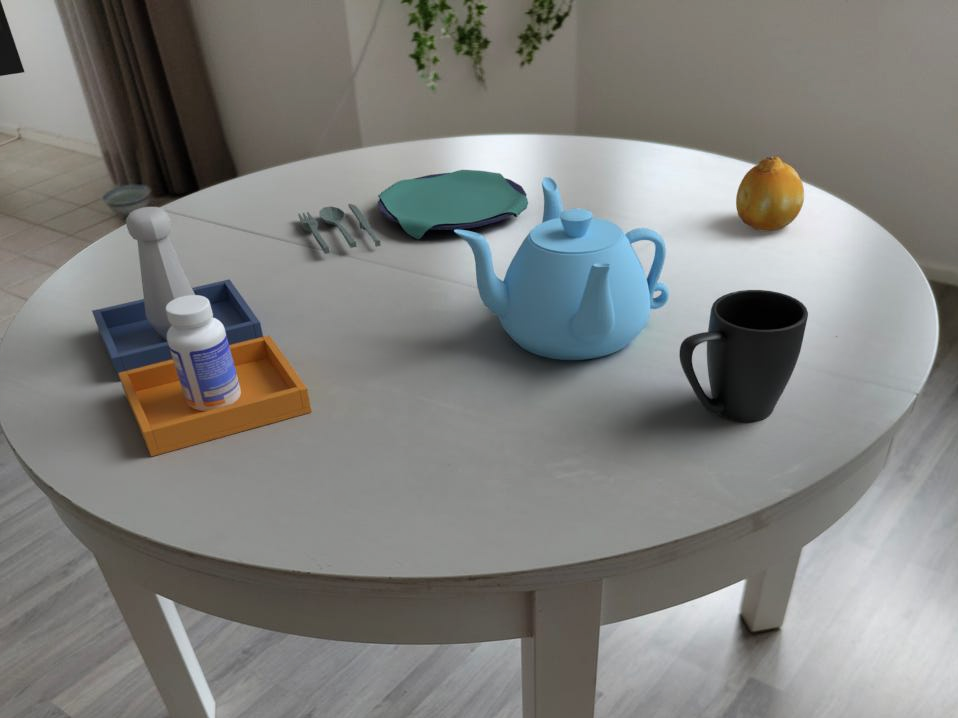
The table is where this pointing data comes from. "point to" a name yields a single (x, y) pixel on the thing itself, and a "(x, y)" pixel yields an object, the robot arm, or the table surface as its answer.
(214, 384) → the pill bottle
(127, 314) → the tray slate
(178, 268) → the salt shaker
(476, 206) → the cutlery set
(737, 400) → the mug
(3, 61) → the robot arm
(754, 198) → the fruit
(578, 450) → the table surface
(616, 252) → the teapot
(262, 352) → the tray amber
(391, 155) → the table surface
